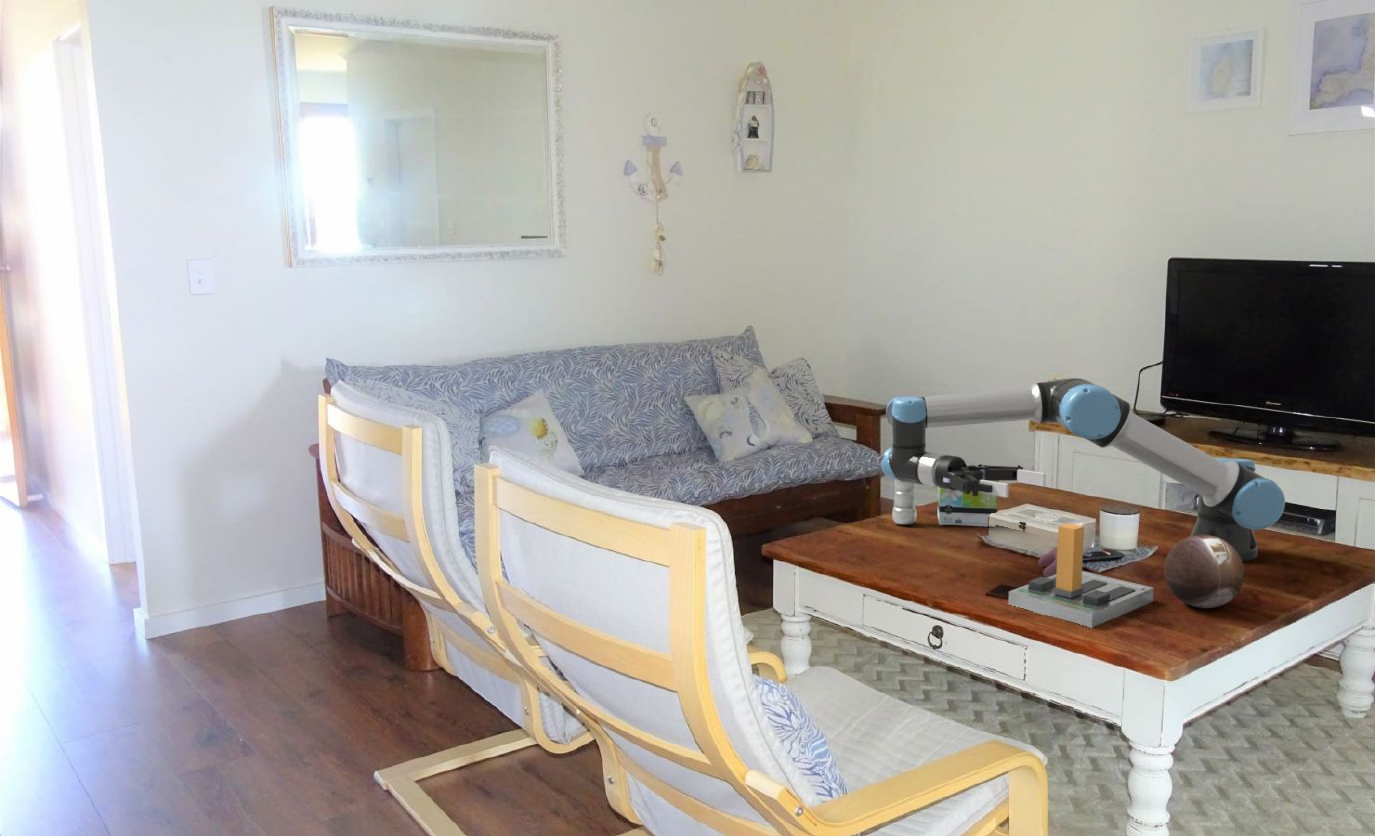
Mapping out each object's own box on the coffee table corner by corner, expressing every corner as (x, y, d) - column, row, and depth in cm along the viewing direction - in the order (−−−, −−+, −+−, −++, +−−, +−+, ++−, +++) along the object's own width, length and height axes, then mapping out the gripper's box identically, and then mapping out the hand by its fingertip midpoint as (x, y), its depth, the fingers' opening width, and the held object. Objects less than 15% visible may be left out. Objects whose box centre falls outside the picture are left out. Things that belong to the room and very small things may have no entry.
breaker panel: (1071, 581, 254) (1072, 561, 253) (1152, 601, 239) (1154, 580, 239) (1008, 605, 238) (1009, 584, 238) (1091, 628, 224) (1092, 605, 223)
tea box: (939, 526, 302) (940, 471, 300) (937, 516, 312) (938, 463, 310) (997, 527, 300) (999, 472, 298) (993, 518, 310) (995, 464, 307)
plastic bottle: (889, 526, 303) (890, 452, 300) (894, 520, 309) (895, 447, 306) (913, 528, 301) (915, 453, 297) (918, 521, 307) (920, 448, 304)
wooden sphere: (1204, 622, 226) (1208, 549, 224) (1146, 600, 240) (1150, 531, 238) (1258, 611, 232) (1263, 540, 230) (1199, 591, 246) (1203, 523, 243)
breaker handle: (1066, 588, 238) (1068, 522, 236) (1083, 592, 235) (1086, 526, 233) (1053, 593, 235) (1055, 526, 233) (1070, 598, 232) (1073, 530, 230)
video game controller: (1060, 585, 256) (1076, 558, 255) (1041, 575, 257) (1057, 549, 255) (1054, 572, 266) (1069, 546, 264) (1036, 563, 266) (1051, 537, 265)
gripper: (976, 478, 264) (1059, 492, 248) (907, 497, 248) (990, 513, 232) (977, 446, 263) (1059, 458, 247) (907, 463, 247) (991, 477, 231)
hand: (1026, 485), depth 239 cm, fingers open, 13 cm apart
